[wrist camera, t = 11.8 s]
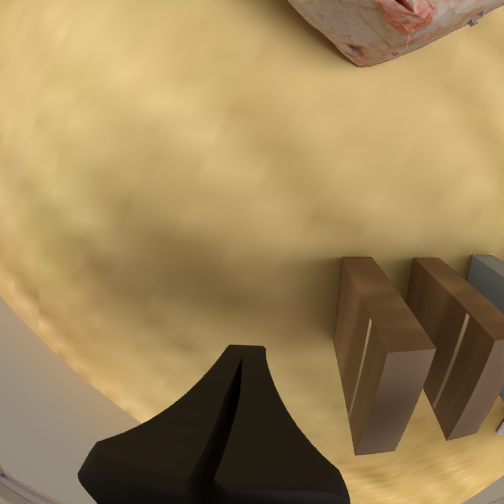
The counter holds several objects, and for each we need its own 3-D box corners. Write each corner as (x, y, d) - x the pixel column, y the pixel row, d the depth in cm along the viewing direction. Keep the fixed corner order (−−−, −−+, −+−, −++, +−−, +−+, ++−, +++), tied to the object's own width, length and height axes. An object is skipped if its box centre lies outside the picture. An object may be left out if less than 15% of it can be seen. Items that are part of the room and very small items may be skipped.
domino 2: (438, 257, 15) (525, 335, 7) (421, 336, 16) (476, 433, 9) (413, 257, 15) (494, 341, 7) (397, 338, 17) (446, 440, 9)
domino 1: (372, 257, 15) (436, 348, 8) (360, 340, 17) (394, 450, 9) (341, 257, 15) (387, 353, 8) (332, 340, 17) (354, 455, 9)
